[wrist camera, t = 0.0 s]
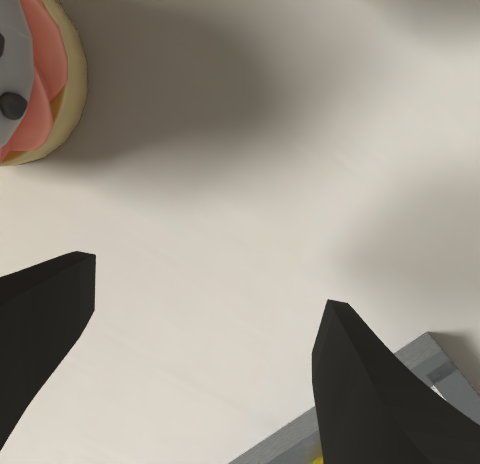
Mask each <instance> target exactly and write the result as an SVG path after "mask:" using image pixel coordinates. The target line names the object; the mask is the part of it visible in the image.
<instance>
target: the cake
mask: <svg viewBox="0 0 480 464" xmlns="http://www.w3.org/2000/svg"><path fill="white" fill-rule="evenodd" d="M87 94H88V79H87V60H86V57H85V54H84V51H83V47H82V44H81V41H80V38H79V35H78V32H77V30H76V28H75V27H74V25H73V24H72V22H71V21H70V19H69V18H68V16H67V15H66V13H65V12H64V10H63V9H62V7H61V6H60V4H59V3H57V2H56V1H55V0H0V166H10V165H20V164H23V163H27V162H30V161H34V160H37V159H41V158H44V157H45V156H47V155H48V154H50V153H51V152H52V151H54V150H55V149H57V148H58V147H59V146H61V145H62V144H63V143H65V142H66V140H67V139H68V137H69V136H70V134H71V133H72V131H73V130H74V128H75V127H76V125H77V124H78V122H79V121H80V119H81V115H82V111H83V108H84V104H85V101H86V97H87Z"/></svg>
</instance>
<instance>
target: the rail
mask: <svg viewBox="0 0 480 464" xmlns="http://www.w3.org/2000/svg"><path fill="white" fill-rule="evenodd" d="M394 355H395V356H396V357H397V358H398V359H399V360H400V361H401V362H402V363H403V364H404V365H405V366H406V367H407V368H408V369H409V370H410V371H411V372H412V373H413V374H415V375H416V376H417V377H418V378H419V379H420V380H421V381H423V382H424V383H425V384H426V385H427V386H428V387H431V386H433V385H434V386H435V387H436V388H437V389H438V391H439V392H440V393H441V394H442V396H443V397H444V398H445V399H446V400H447V402H448V403H449V404H451V405H452V406H454V407H455V408H456V409H458V410H459V411H460V412H462V413H463V414H465V415H466V416H467V417H469V418H470V419H471V420H473V421H474V422H476V423H477V424H479V425H480V397H479V395H478V394H477V393H476V392H475V390H474V389H473V388H472V387H471V385H470V384H469V383H468V382H467V380H466V379H465V378H464V377H463V375H462V374H461V373H460V372H459V370H458V369H457V368H456V367H455V365H454V364H453V363H452V362H451V360H450V359H449V358H448V357H447V355H446V354H445V353H444V352H443V350H442V349H441V348H440V347H439V346H438V344H437V343H436V342H435V341H434V340H433V338H432V337H431V336H430V335H429V334H428V332H426V333H425V334H423V335H422V336H420V337H419V338H417V339H416V340H414V341H413V342H411V343H410V344H408V345H407V346H405V347H403V348H402V349H400V350H399V351H397V352H396V353H394ZM321 456H322V448H321V441H320V434H319V427H318V420H317V414H316V407H313V408H312V409H310V410H309V411H307V412H306V413H304V414H303V415H301V416H300V417H298V418H297V419H295V420H294V421H292V422H291V423H289V424H288V425H286V426H285V427H283V428H282V429H280V430H279V431H277V432H276V433H274V434H273V435H271V436H269V437H268V438H266V439H265V440H263V441H262V442H260V443H259V444H257V445H256V446H254V447H253V448H251V449H250V450H248V451H247V452H245V453H244V454H242V455H241V456H239V457H238V458H236V459H235V460H233V461H232V462H230V463H229V464H309V463H311V462H313V461H314V460H316V459H317V458H319V457H321Z"/></svg>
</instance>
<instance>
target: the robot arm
mask: <svg viewBox="0 0 480 464" xmlns="http://www.w3.org/2000/svg"><path fill="white" fill-rule="evenodd" d="M95 268H96V255H94V254H89V253H84V252H79V251H75V252H71V253H68V254H65V255H62V256H59V257H56V258H53V259H50V260H48V261H45V262H42V263H40V264H37V265H34V266H31V267H29V268H26V269H23V270H20V271H18V272H15V273H12V274H9V275H6V276H3V277H0V451H1V449H2V448H3V446H4V444H5V442H6V441H7V439H8V437H9V436H10V434H11V432H12V431H13V429H14V428H15V426H16V424H17V423H18V421H19V419H20V418H21V416H22V415H23V413H24V411H25V410H26V408H27V407H28V405H29V404H30V402H31V401H32V400H33V398H34V397H35V395H36V394H37V393H38V391H39V390H40V389H41V387H42V386H43V385H44V384H45V382H46V381H47V380H48V378H49V377H50V376H51V374H52V373H53V372H54V370H55V369H56V368H57V367H58V365H59V364H60V363H61V361H62V360H63V359H64V357H65V356H66V355H67V353H68V352H69V351H70V349H71V348H72V347H73V345H74V344H75V343H76V341H77V340H78V339H79V337H80V336H81V334H82V332H83V331H84V329H85V327H86V325H87V324H88V322H89V320H90V318H91V316H92V314H93V312H94V310H95ZM312 385H313V393H314V400H315V407H316V414H317V420H318V427H319V434H320V441H321V448H322V455H323V464H480V425H479V424H477V423H476V422H474V421H473V420H471V419H470V418H469V417H467V416H466V415H465V414H463V413H462V412H460V411H459V410H458V409H456V408H455V407H454V406H452V405H451V404H449V403H448V402H447V401H446V400H444V399H443V398H442V397H440V396H439V395H438V394H437V393H436V392H434V391H433V390H432V389H431V388H430V387H428V386H427V385H426V384H425V383H424V382H423V381H421V380H420V379H419V378H418V377H417V376H416V375H415V374H413V373H412V372H411V371H410V370H409V369H408V368H407V367H406V366H405V365H404V364H403V363H402V362H401V361H400V360H399V359H398V358H397V357H396V356H395V355H394V354H393V353H392V352H391V351H390V350H389V349H388V348H387V347H386V346H385V345H384V343H383V342H382V341H381V340H380V339H379V338H378V337H377V336H376V335H375V334H374V332H373V331H372V330H371V329H370V328H369V327H368V325H367V324H366V323H365V322H364V321H363V320H362V318H361V317H360V316H359V315H358V314H357V313H356V311H355V310H354V309H353V308H352V307H351V306H350V305H349V304H348V303H345V302H339V301H334V300H329V299H328V300H327V303H326V306H325V310H324V313H323V317H322V320H321V324H320V327H319V330H318V334H317V337H316V341H315V344H314V348H313V351H312Z"/></svg>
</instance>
